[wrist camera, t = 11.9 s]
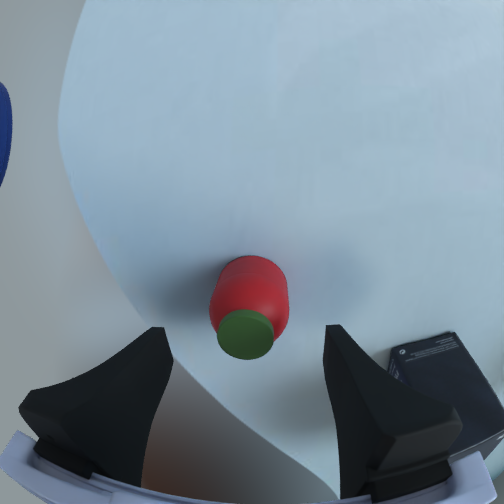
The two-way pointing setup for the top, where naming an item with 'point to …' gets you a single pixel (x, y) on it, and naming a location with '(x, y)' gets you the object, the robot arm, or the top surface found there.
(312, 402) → the top surface
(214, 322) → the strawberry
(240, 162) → the top surface
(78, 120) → the top surface
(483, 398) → the small box
